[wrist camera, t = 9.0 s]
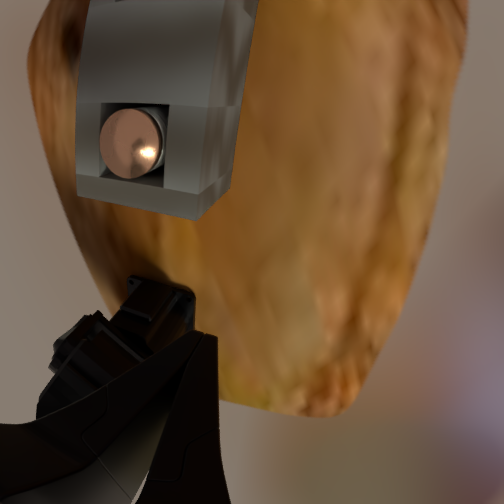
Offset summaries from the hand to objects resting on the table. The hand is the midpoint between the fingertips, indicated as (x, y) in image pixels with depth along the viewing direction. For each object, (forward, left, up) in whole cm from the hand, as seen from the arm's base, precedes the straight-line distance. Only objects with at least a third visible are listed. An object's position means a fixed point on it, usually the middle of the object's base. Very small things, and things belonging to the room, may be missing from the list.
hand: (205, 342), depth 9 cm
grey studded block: (+9, +7, -13) cm, 17 cm away
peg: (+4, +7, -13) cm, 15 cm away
